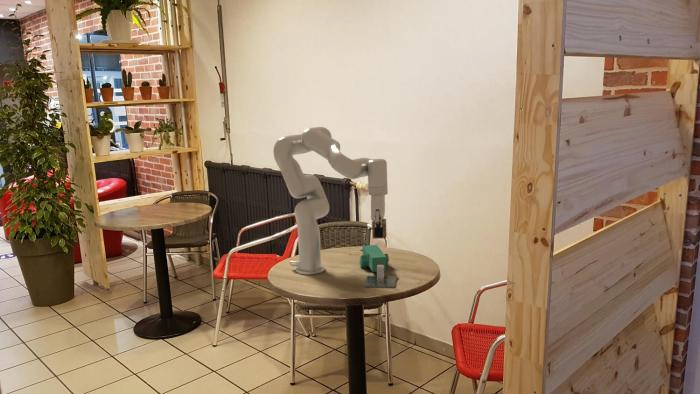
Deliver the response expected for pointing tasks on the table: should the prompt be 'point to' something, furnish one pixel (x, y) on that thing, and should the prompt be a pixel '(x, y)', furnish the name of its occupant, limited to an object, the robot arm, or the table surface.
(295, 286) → the table surface
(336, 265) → the table surface
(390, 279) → the grey base plate
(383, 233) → the tan cardboard carton
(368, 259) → the toy
